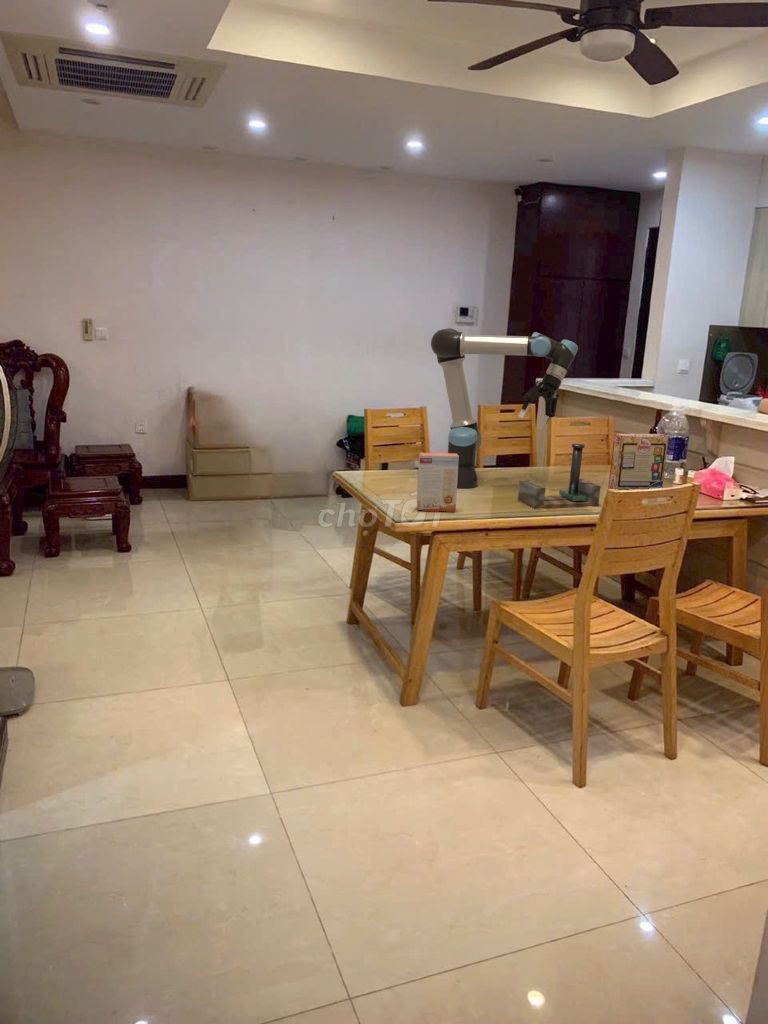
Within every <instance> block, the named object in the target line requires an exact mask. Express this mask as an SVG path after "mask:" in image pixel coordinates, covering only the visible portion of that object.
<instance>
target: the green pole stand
mask: <svg viewBox="0 0 768 1024" xmlns="http://www.w3.org/2000/svg"><path fill="white" fill-rule="evenodd" d="M585 446H586V445H585V444H583V443H572V444H571V447H572V454H571V455H572V457H571V463H570V464H571V465H570V474H569V482H568V483H569V484H568V489H559V491H558V492H559V494H558V495H561V496H563V497H565V498H567V499H569V500H572V501H585V500H586V498H587V495H585V494H582V493H580V492H578V487H579V479H581V478H580V475H581V466H582V457H583V449H585Z"/></svg>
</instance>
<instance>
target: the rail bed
mask: <svg viewBox="0 0 768 1024" xmlns="http://www.w3.org/2000/svg"><path fill="white" fill-rule="evenodd" d="M578 492H580V493H582V494H585V495H587V498H586V500H585V501H572V500H569V499H567V498H565V497H563V496H561V495H559V494H558V495H555V494H554V495H546V487H545V486H542V485H540V484H537V483H535V482H533V481H531V480H519V483H518V495H517V501H518V502H520V503H521V502H522V503H521V504H523V503H524V505H525V504H526V506H527V505H528V506H527V507H529V506H530V507H529V508H531V507H532V509H533V508H534V509H533V510H536V509H535V508H546V509H562V508H563V509H565V508H568V507H569V508H584V507H585V508H587V506H592V507H599V502H600V495H601V485H600V484H596V483H594V482H593V481H592V480H587V479H584V478H579V487H578Z"/></svg>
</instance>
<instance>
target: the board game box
mask: <svg viewBox="0 0 768 1024" xmlns="http://www.w3.org/2000/svg"><path fill="white" fill-rule="evenodd" d="M669 438H670V436H669V435H667V434H664V433H614V435H613V444H612V452H611V460H610V461H611V463H610V472H609V480H608V486H607V487H608V489H618V490H629V489H649V488H661V487H662V488H663V484H664V478H665V471H666V470H665V469H666V461H667V455H668V445H669ZM608 489H607V490H608Z"/></svg>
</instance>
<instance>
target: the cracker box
mask: <svg viewBox="0 0 768 1024" xmlns="http://www.w3.org/2000/svg"><path fill="white" fill-rule="evenodd" d="M458 462H459V456H458V455H457V454H456V453H448V452H446V453H445V452H418V466H417V467H418V471H417V492H416V510H417V509H418V510H427V511H426V512H439V511H444V512H443V513H445V511H446V513H456V509H457V492H458V488H457V479H458ZM418 510H417V511H418Z"/></svg>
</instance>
